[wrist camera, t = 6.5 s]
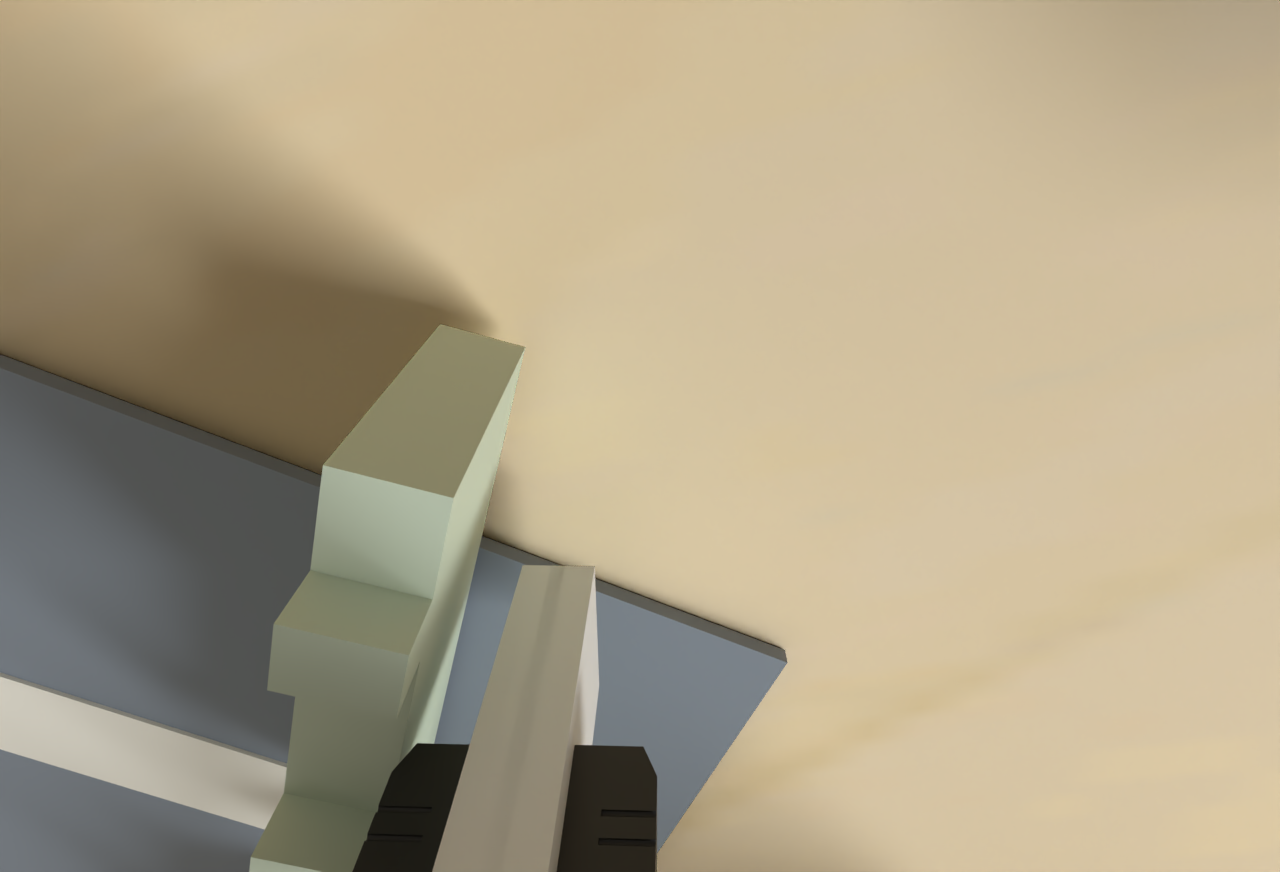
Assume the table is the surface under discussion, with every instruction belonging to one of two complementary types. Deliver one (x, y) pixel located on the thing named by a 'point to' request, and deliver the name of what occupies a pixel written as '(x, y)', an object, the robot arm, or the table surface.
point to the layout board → (241, 642)
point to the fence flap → (384, 593)
